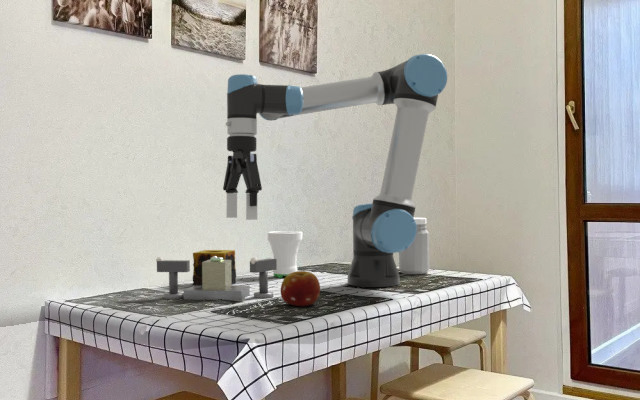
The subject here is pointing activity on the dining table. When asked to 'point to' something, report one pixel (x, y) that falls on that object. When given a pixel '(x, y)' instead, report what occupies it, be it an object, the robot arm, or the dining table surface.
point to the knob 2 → (263, 275)
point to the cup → (285, 250)
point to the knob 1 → (173, 274)
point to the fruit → (300, 288)
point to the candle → (207, 255)
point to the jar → (416, 251)
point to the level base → (216, 293)
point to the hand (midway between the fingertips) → (241, 218)
